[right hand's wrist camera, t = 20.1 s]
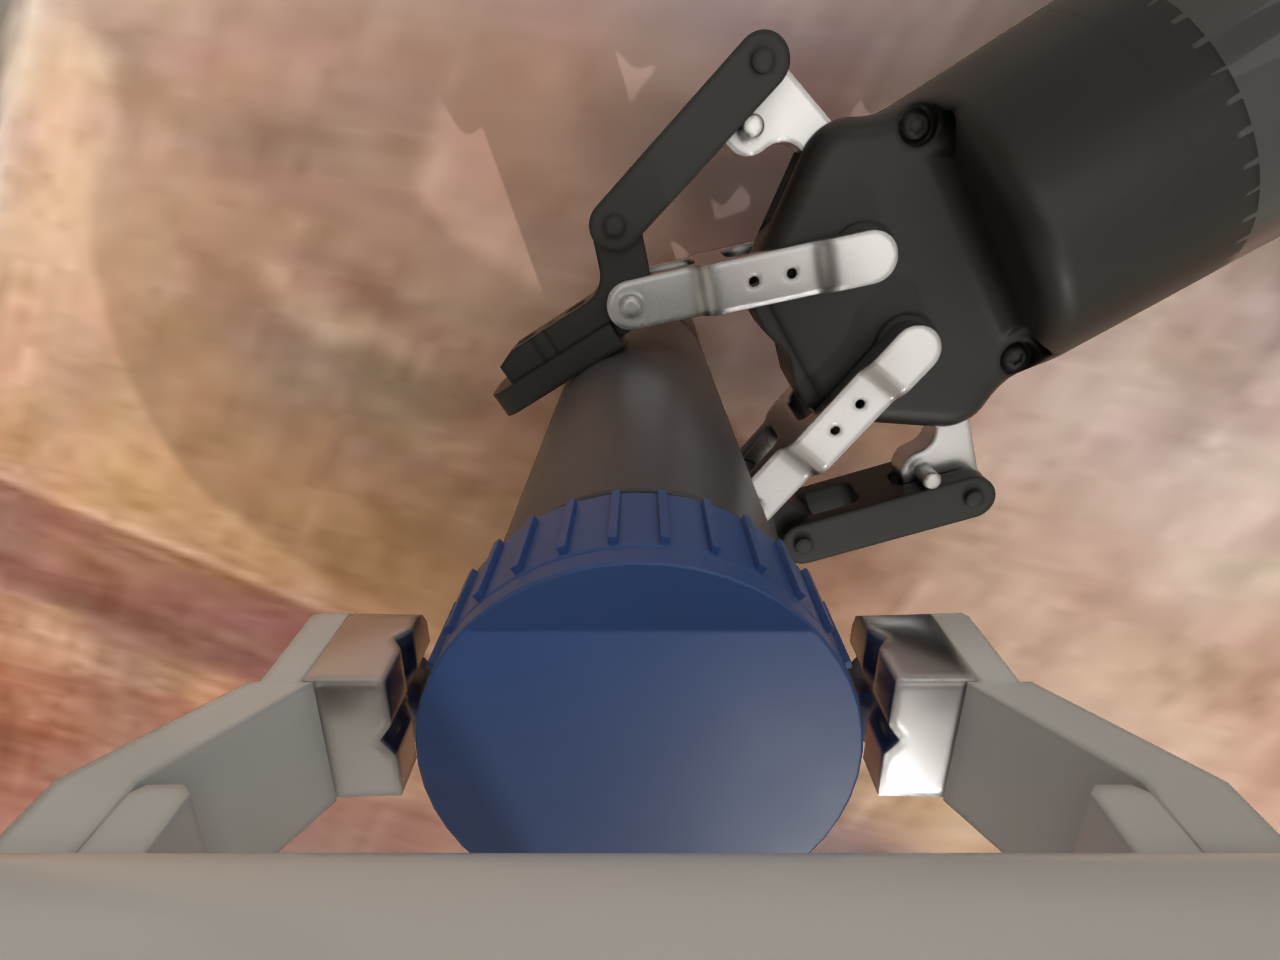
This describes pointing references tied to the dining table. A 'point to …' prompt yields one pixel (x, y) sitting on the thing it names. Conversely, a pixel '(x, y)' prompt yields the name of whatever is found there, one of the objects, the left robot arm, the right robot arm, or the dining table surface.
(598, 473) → the dark grey bottle
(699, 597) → the lid
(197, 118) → the dining table surface
